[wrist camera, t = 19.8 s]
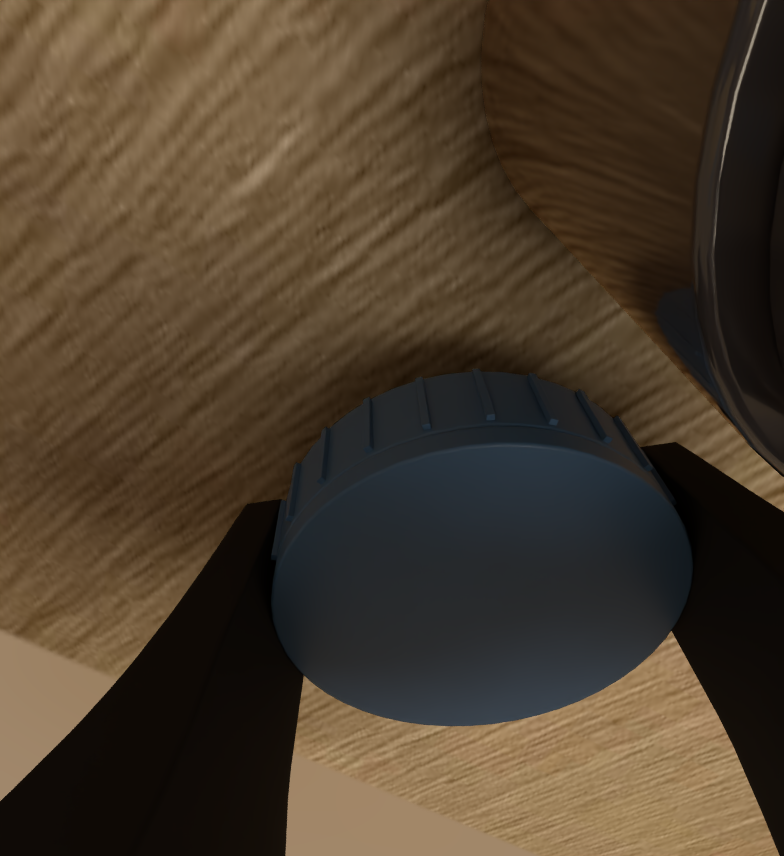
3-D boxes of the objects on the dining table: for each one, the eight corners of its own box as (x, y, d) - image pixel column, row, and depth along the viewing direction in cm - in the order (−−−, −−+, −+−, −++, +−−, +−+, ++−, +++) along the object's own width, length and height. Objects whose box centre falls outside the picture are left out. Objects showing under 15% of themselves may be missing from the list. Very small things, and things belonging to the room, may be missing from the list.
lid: (667, 335, 8) (735, 404, 7) (632, 618, 12) (672, 705, 10) (233, 400, 8) (205, 480, 7) (325, 657, 12) (319, 747, 10)
